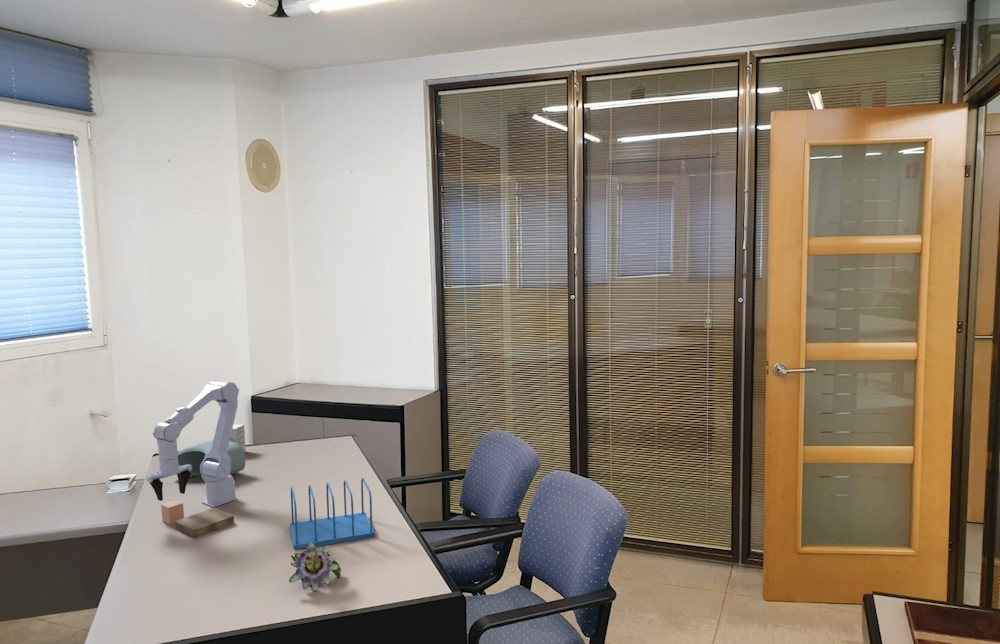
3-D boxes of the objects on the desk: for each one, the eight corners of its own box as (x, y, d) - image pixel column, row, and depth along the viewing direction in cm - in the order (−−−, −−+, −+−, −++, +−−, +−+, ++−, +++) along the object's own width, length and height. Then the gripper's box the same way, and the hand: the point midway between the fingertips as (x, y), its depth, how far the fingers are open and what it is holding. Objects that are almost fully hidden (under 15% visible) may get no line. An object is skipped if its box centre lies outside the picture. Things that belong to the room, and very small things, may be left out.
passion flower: (316, 611, 190) (287, 584, 183) (304, 584, 200) (276, 557, 193) (353, 579, 193) (326, 551, 186) (340, 554, 203) (314, 527, 196)
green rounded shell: (246, 475, 281) (244, 444, 279) (204, 490, 265) (202, 457, 263) (212, 466, 292) (210, 436, 291) (170, 479, 276) (168, 448, 275)
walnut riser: (214, 514, 241) (214, 507, 241) (233, 523, 234) (233, 515, 234) (175, 528, 230) (174, 521, 230) (194, 537, 223) (193, 530, 223)
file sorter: (293, 551, 213) (291, 503, 211) (289, 529, 229) (287, 484, 227) (375, 537, 222) (373, 491, 220) (365, 517, 238) (363, 474, 236)
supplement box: (221, 456, 305) (220, 428, 303) (231, 450, 312) (229, 423, 311) (237, 456, 304) (235, 428, 302) (246, 451, 311) (244, 424, 309)
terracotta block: (176, 516, 240) (175, 499, 239) (184, 519, 237) (182, 503, 236) (162, 521, 236) (161, 504, 235) (169, 524, 233) (168, 507, 232)
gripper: (183, 450, 242) (185, 487, 244) (140, 461, 231) (144, 500, 232) (193, 453, 238) (196, 492, 239) (151, 465, 226) (154, 505, 228)
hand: (171, 496), depth 236 cm, fingers open, 7 cm apart
